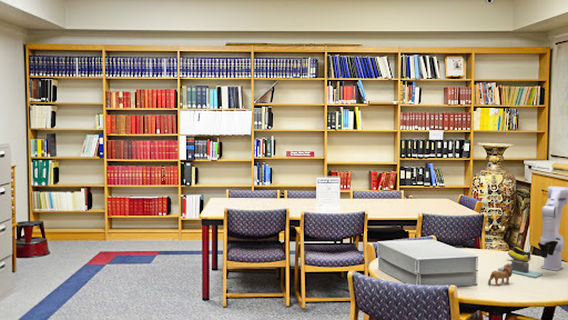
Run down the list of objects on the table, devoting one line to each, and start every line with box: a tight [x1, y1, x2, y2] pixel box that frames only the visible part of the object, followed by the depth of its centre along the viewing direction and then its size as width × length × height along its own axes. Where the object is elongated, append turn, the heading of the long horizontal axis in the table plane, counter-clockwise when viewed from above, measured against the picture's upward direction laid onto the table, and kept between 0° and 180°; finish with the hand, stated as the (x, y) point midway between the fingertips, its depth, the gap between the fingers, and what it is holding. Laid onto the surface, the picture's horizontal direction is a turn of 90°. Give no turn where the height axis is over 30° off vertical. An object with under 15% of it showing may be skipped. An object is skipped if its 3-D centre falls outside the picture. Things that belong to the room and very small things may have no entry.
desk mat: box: [497, 265, 544, 279], centre depth 277 cm, size 9×19×1 cm, turn 43°
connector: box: [506, 259, 530, 273], centre depth 277 cm, size 4×10×4 cm, turn 43°
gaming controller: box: [507, 246, 532, 262], centre depth 303 cm, size 15×6×10 cm
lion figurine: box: [487, 263, 513, 287], centre depth 256 cm, size 15×5×9 cm, turn 120°
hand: (547, 256), depth 273 cm, fingers open, 7 cm apart
